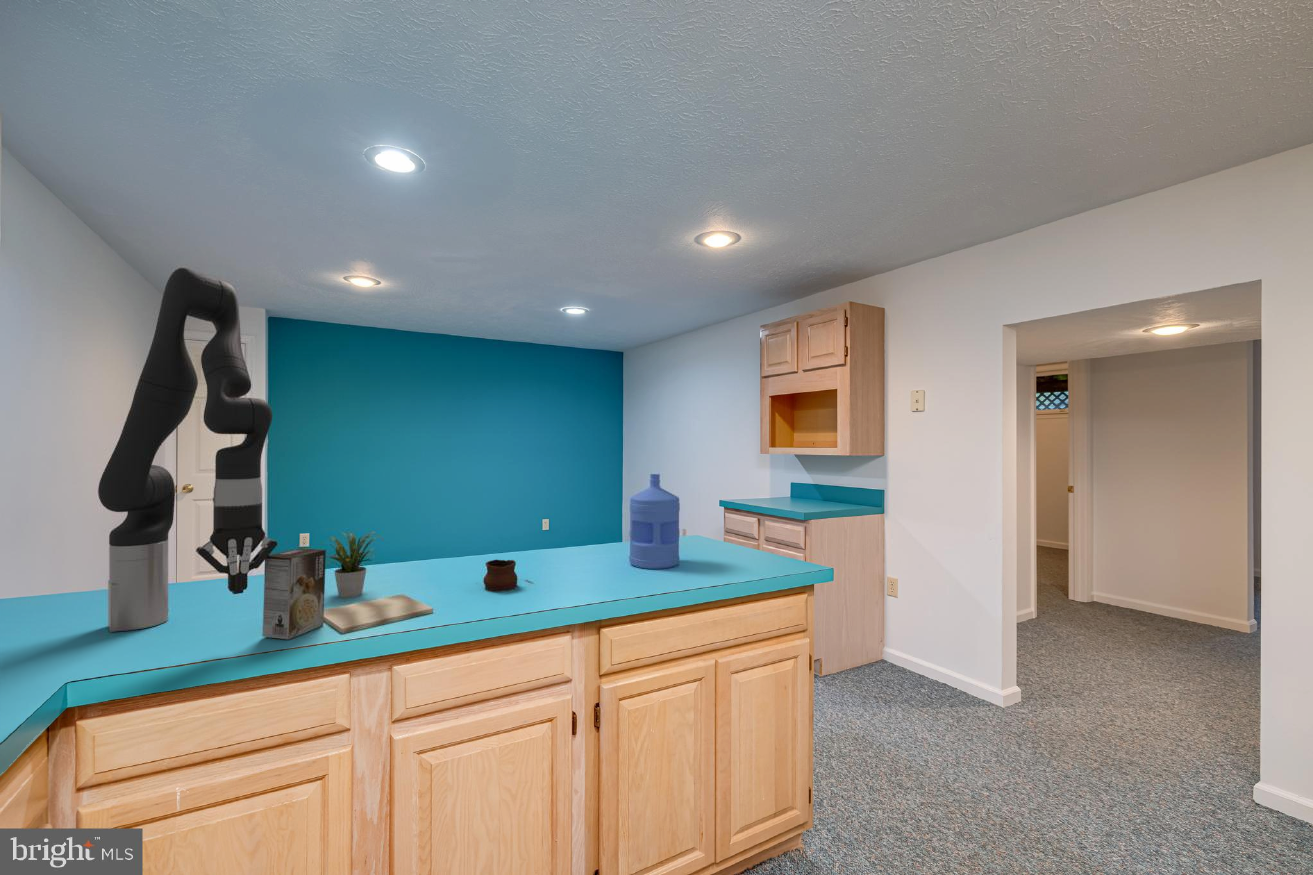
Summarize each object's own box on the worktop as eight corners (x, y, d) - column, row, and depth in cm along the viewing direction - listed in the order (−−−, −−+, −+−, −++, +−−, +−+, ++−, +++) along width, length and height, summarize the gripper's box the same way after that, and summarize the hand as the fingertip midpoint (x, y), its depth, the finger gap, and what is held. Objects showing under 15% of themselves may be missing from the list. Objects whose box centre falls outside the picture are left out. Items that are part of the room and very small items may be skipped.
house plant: (394, 585, 152) (394, 523, 152) (378, 600, 139) (378, 533, 138) (336, 587, 150) (336, 524, 150) (314, 603, 136) (314, 534, 136)
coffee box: (297, 622, 122) (301, 547, 122) (324, 625, 121) (327, 549, 121) (260, 637, 113) (264, 555, 113) (288, 640, 112) (292, 557, 112)
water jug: (627, 558, 187) (628, 472, 186) (675, 557, 188) (676, 472, 188) (630, 570, 171) (631, 476, 171) (682, 569, 173) (683, 476, 172)
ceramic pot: (522, 575, 164) (522, 551, 163) (545, 591, 149) (544, 564, 148) (457, 585, 154) (457, 559, 154) (474, 603, 139) (473, 574, 139)
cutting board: (341, 633, 116) (341, 628, 116) (316, 615, 127) (316, 611, 127) (433, 612, 130) (433, 608, 130) (403, 598, 141) (403, 594, 141)
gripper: (197, 506, 102) (196, 604, 102) (283, 501, 112) (283, 590, 112) (190, 503, 107) (190, 595, 107) (273, 498, 117) (273, 583, 117)
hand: (237, 592), depth 109 cm, fingers closed
